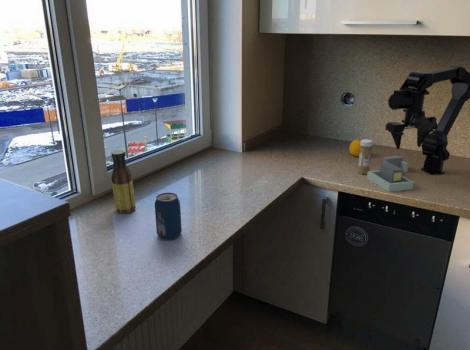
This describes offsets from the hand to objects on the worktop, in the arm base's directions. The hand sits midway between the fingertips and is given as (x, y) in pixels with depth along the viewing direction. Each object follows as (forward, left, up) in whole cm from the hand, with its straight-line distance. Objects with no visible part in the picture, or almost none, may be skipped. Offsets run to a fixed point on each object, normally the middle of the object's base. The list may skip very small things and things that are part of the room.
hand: (408, 147), depth 152 cm
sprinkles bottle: (+13, -8, -12) cm, 19 cm away
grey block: (+10, +5, -11) cm, 16 cm away
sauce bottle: (+106, +4, -12) cm, 107 cm away
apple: (+3, -29, -12) cm, 32 cm away
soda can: (+94, +24, -12) cm, 98 cm away
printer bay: (-1, -7, -12) cm, 14 cm away
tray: (+10, +5, -12) cm, 16 cm away
